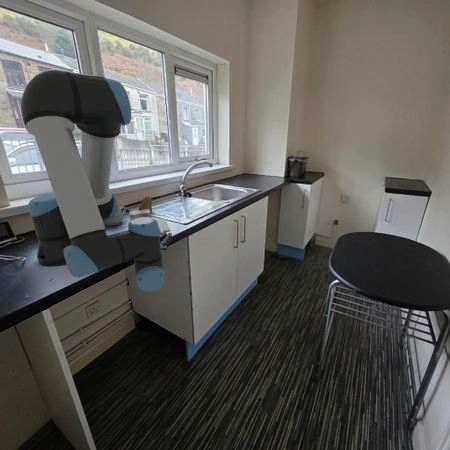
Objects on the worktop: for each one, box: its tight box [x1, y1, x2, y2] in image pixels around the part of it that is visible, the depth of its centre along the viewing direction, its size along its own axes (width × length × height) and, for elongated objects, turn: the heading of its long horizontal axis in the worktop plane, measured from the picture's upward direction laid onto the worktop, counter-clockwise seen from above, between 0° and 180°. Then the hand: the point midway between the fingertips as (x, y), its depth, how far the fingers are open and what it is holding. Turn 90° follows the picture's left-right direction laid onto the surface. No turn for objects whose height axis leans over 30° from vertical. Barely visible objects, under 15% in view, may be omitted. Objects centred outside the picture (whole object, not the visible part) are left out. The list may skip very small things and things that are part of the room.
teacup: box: [103, 205, 127, 227], centre depth 121 cm, size 14×11×8 cm
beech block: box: [129, 209, 152, 221], centre depth 104 cm, size 8×5×12 cm, turn 111°
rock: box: [137, 196, 153, 213], centre depth 136 cm, size 11×9×10 cm
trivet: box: [155, 218, 171, 233], centre depth 118 cm, size 13×17×1 cm
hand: (142, 232), depth 95 cm, fingers open, 13 cm apart
